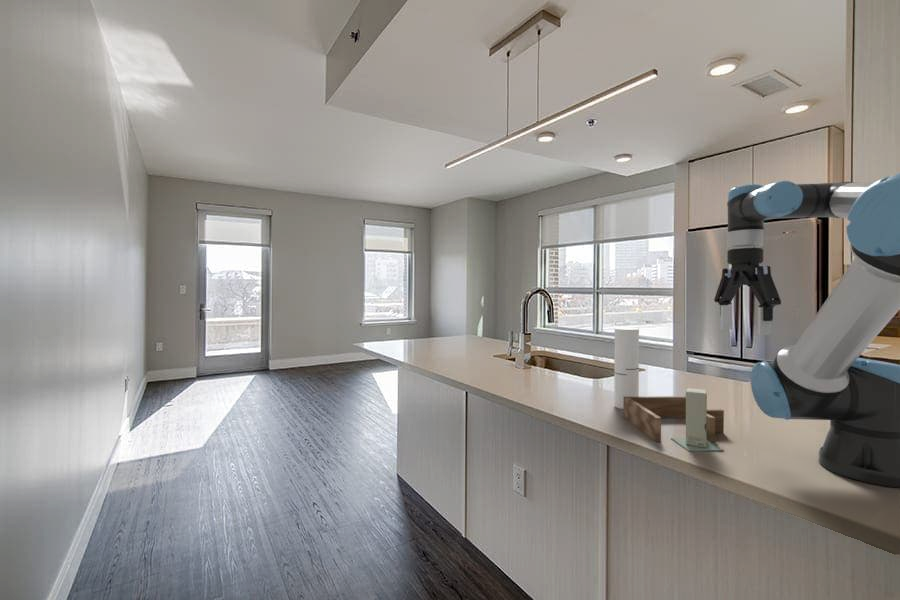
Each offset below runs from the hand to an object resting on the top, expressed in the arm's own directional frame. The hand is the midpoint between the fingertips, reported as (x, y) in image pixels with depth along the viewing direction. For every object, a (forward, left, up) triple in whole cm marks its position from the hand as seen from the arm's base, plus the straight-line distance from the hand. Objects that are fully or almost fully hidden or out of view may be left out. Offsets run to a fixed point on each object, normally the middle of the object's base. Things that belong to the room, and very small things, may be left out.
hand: (744, 331), depth 108 cm
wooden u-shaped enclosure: (+5, +14, -26) cm, 31 cm away
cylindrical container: (+26, +19, -27) cm, 42 cm away
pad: (-7, +16, -26) cm, 32 cm away
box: (-6, +16, -26) cm, 31 cm away
